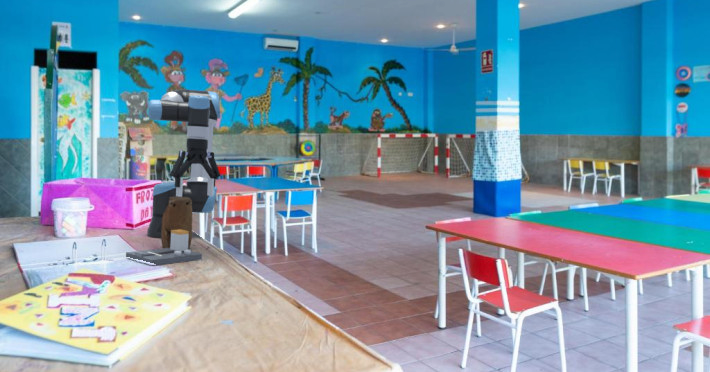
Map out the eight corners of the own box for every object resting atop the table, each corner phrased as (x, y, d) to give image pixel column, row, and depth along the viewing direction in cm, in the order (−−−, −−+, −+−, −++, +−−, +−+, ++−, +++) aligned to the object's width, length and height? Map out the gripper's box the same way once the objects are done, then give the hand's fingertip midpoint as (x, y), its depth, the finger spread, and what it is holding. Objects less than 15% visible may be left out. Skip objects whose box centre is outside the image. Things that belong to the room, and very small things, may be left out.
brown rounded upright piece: (187, 245, 235) (189, 196, 234) (192, 249, 229) (194, 198, 227) (159, 246, 229) (161, 196, 228) (164, 250, 223) (166, 198, 222)
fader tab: (179, 248, 216) (180, 229, 215) (187, 250, 213) (188, 231, 212) (170, 249, 213) (171, 230, 212) (178, 251, 209) (179, 232, 209)
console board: (175, 252, 221) (175, 242, 221) (201, 259, 211) (201, 249, 211) (125, 258, 205) (125, 247, 205) (151, 266, 195) (151, 255, 195)
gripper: (218, 139, 227) (216, 194, 228) (161, 136, 208) (159, 195, 209) (231, 140, 222) (228, 196, 224) (173, 136, 203) (171, 197, 204)
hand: (195, 196), depth 216 cm, fingers open, 13 cm apart
